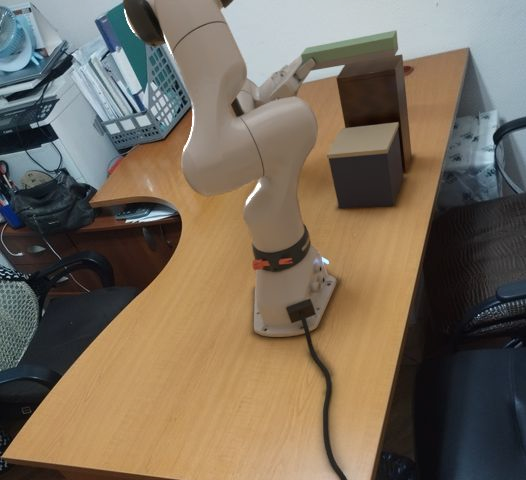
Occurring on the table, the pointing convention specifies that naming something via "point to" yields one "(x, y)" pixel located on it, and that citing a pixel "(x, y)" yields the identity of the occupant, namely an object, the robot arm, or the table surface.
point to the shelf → (376, 97)
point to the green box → (352, 50)
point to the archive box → (366, 165)
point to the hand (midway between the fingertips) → (317, 55)
